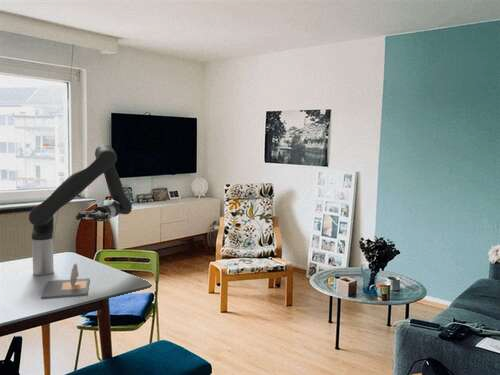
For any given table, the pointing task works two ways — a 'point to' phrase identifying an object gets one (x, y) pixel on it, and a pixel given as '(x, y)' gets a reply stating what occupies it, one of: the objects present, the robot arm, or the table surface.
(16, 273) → the table surface
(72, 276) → the arrowhead
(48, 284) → the mat
